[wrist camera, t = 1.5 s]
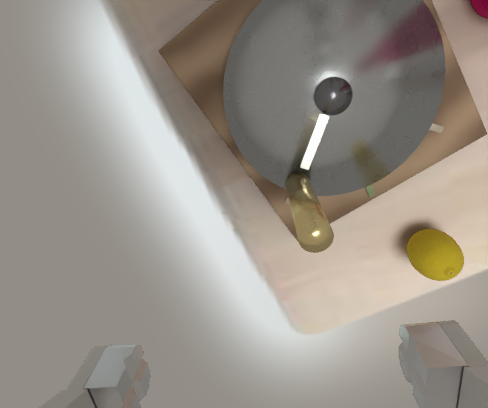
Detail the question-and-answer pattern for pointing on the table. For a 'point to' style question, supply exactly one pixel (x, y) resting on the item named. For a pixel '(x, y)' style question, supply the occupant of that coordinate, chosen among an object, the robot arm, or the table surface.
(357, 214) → the table surface
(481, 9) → the pepper mill
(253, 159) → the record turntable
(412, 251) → the lemon
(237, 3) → the stand
